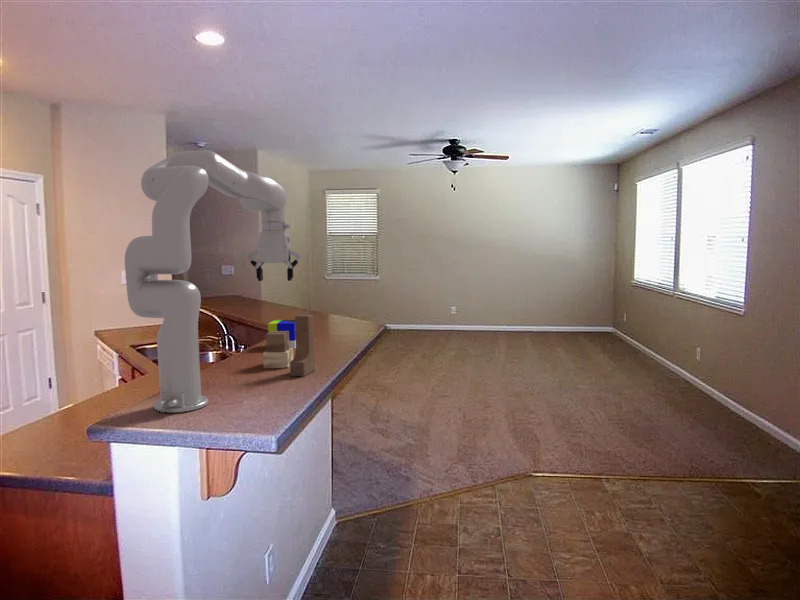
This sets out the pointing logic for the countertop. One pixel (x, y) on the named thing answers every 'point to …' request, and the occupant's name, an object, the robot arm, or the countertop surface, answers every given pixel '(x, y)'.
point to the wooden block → (303, 346)
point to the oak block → (277, 359)
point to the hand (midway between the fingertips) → (275, 280)
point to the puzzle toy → (284, 329)
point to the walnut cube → (277, 341)
